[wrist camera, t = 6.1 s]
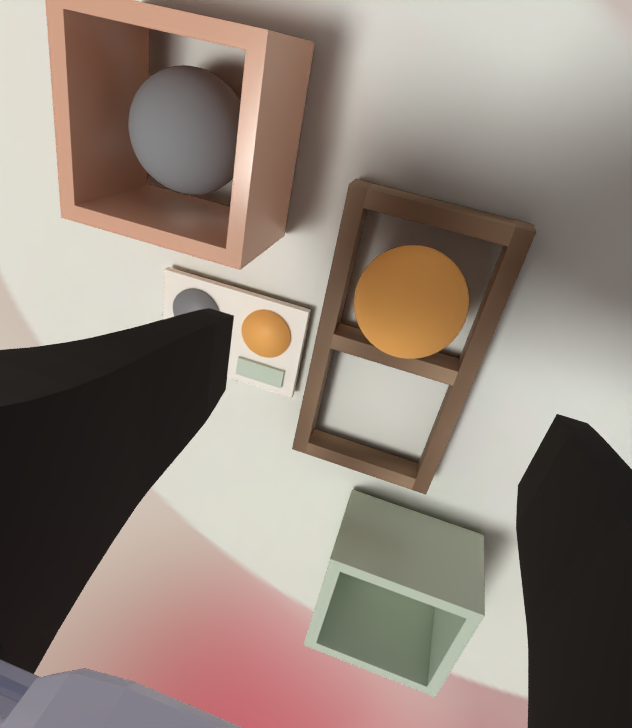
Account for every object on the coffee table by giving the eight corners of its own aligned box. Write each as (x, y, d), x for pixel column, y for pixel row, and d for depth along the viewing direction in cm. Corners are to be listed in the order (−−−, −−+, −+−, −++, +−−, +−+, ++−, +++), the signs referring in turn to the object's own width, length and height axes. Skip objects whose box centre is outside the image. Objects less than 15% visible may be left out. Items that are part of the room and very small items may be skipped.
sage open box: (483, 535, 22) (484, 615, 19) (441, 615, 25) (434, 697, 22) (352, 489, 23) (330, 558, 20) (326, 572, 26) (303, 645, 23)
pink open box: (314, 42, 15) (268, 29, 12) (283, 235, 18) (239, 269, 15) (135, 2, 16) (44, -20, 13) (134, 194, 19) (61, 217, 16)
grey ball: (272, 80, 16) (227, 79, 13) (258, 195, 18) (216, 217, 15) (167, 56, 17) (100, 50, 14) (164, 171, 18) (105, 188, 15)
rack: (533, 224, 16) (536, 232, 15) (427, 478, 22) (425, 494, 21) (355, 179, 17) (349, 184, 16) (299, 435, 22) (292, 448, 22)
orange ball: (485, 248, 17) (486, 285, 14) (450, 343, 19) (444, 393, 16) (379, 220, 17) (358, 249, 14) (355, 315, 19) (331, 358, 16)
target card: (311, 309, 19) (307, 314, 19) (293, 394, 22) (290, 400, 21) (168, 267, 20) (162, 270, 20) (165, 352, 22) (159, 357, 22)
